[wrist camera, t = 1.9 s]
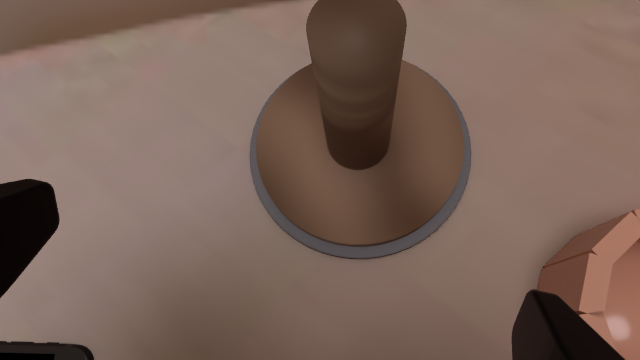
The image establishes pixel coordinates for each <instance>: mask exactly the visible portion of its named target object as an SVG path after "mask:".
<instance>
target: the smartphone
mask: <svg viewBox="0 0 640 360" xmlns="http://www.w3.org/2000/svg"><path fill="white" fill-rule="evenodd" d="M0 360H94V358H93V355H92V353H91V351H90V350H89V349H88V348H87V347H85V346H82V345H76V344H59V343H53V342H47V343H34V342H11V343H9V342H6V341H0Z"/></svg>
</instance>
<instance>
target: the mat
mask: <svg viewBox="0 0 640 360" xmlns="http://www.w3.org/2000/svg"><path fill="white" fill-rule="evenodd" d="M412 65H413V64H412ZM414 66H415V65H414ZM416 67H417V66H416ZM417 68H418V67H417ZM302 69H303V68H302ZM419 69H420V68H419ZM300 70H301V69H300ZM300 70H299V71H300ZM421 70H422V69H421ZM422 71H423V70H422ZM297 72H298V71H297ZM297 72H296V73H297ZM424 72H425V71H424ZM425 73H426V74H428V73H427V72H425ZM293 75H294V74H293ZM293 75H292V76H293ZM428 75H429V74H428ZM429 76H430V77H431V78H433V77H432V76H431V75H429ZM290 77H291V76H290ZM290 77H289V78H290ZM289 78H288V79H289ZM288 79H287V80H288ZM433 79H434V78H433ZM287 80H286V81H287ZM434 80H435V81H436V82H437V83H438V84H439V85H440V86H441V87H442V89H443V90H444V91H445V93H446V94H447V95H448V97H449V98H450V100H451V101H452V103H453V105H454V107H455V109H456V111H457V113H458V116H459V119H460V121H461V126H462V130H463V137H464V159H463V164H462V168H461V172H460V175H459V178H458V181H457V183H456V185H455V187H454V189H453V191H452V193H451V195H450V196H449V198H448V199H447V201H446V202H445V204H444V205H443V206H442V208H441V209H440V210H439V212H438V213H437V214H436V215H435V216H434V217H433V218H432V219H431V220H430V221H428V222H427V223H426V224H425V225H423V226H422V227H421V228H419V229H418V230H416V231H414V232H413V233H411V234H409V235H407V236H405V237H403V238H400V239H398V240H395V241H393V242H389V243H385V244H381V245H375V246H367V247H351V246H344V245H337V244H333V243H330V242H326V241H323V240H321V239H318V238H316V237H313V236H311V235H310V234H308V233H306V232H304V231H303V230H301V229H299V228H298V227H297V226H296V225H294V224H293V223H292V222H291V221H289V220H288V219H287V218H286V217H285V216H284V214H283V213H282V212H281V211H280V210H279V209H278V207H277V206H276V205H275V203H274V202H273V200H272V199H271V197H270V196H269V194H268V192H267V190H266V188H265V187H264V185H263V182H262V179H261V176H260V174H259V169H258V165H257V158H256V140H257V133H258V128H259V124H260V121H261V118H262V115H263V113H264V111H265V109H266V107H267V105H268V103H269V101H270V100H271V98H272V97H273V96H274V94H275V93H276V91H277V90H278V89H279V88H280V87H281V86H282V85H283V84H284V83H285V82H286V81H284V82H283V83H282V84H281V85H280V86H279V87H278V88H277V89H276V90H275V91H274V93H273V94H272V95H271V96H270V98H269V99H268V100H267V102H266V103H265V105H264V106H263V108H262V110H261V112H260V114H259V116H258V118H257V121H256V124H255V126H254V129H253V134H252V138H251V145H250V168H251V173H252V178H253V182H254V185H255V188H256V191H257V194H258V196H259V198H260V200H261V201H262V203H263V205H264V207H265V208H266V210H267V211H268V213H269V214H270V215H271V217H272V218H273V219H274V220H275V222H276V223H277V224H278V225H279V226H280V227H281V228H282V229H283V230H284V231H285V232H287V233H288V234H289V235H290V236H292V237H293V238H294V239H296V240H297V241H299V242H301V243H302V244H304V245H306V246H307V247H310V248H312V249H314V250H317V251H319V252H321V253H325V254H329V255H332V256H336V257H343V258H350V259H368V258H377V257H383V256H387V255H391V254H395V253H398V252H400V251H403V250H405V249H408V248H410V247H412V246H414V245H415V244H417V243H419V242H421V241H422V240H424V239H425V238H427V237H428V236H429V235H431V234H432V233H433V232H434V231H436V230H437V229H438V228H439V227H440V226H441V225H442V224H443V223H444V222H445V221H446V219H447V218H448V217H449V215H450V214H451V213H452V211H453V210H454V208H455V207H456V206H457V204H458V202H459V200H460V198H461V196H462V194H463V192H464V189H465V186H466V184H467V181H468V176H469V172H470V167H471V144H470V137H469V132H468V128H467V125H466V122H465V120H464V117H463V115H462V112H461V111H460V109H459V107H458V105H457V104H456V102H455V100H454V99H453V98H452V96H451V95H450V94H449V92H448V91H447V90H446V89H445V88H444V87H443V86H442V85H441V84H440V83H439V82H438V81H437V80H436V79H434Z"/></svg>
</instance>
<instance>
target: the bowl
mask: <svg viewBox="0 0 640 360" xmlns="http://www.w3.org/2000/svg"><path fill="white" fill-rule="evenodd" d="M543 267H544V268H543V269H542V270H541V275H540V279H539V284H538V289H537V290H539V291H544V292H549V293H553V294H556V295H558V296H559V297H560V298H561V299H562V300H563V301H564V302H566V303H567V304H568V305H569V306H570V307H571V308H572V309H573V310H574V311H575V312H576V313H577V314H578V315H579V316H580V317H581V318H582V319H583V320H584V321H585V322H587V323H588V324H589V325H590V326H591V327H592V328H593V329H594V330H595V331H596V332H597V333H598V334H599V335H600V336H601V337H602V338H603V339H604V340H605V341H606V342H608V343H609V344H610V345H611V346H612V347H613V348H614V349H615V350H616V351H617V352H618V353H619V354H620V355H621V356H622V357H623V358H624V359H625V360H640V209H637V210H633V211H631V212H628V213H626V214H624V215H622V216H619V217H617V218H615V219H613V220H610V221H608V222H606V223H604V224H601V225H599V226H597V227H595V228H592V229H590V230H588V231H586V232H583V233H581V234H579V235H577V236H575V237H574V238H573V239H572V240H571V241H570V242H568V243H567V244H566V245H565V246H564V247H563V248H562V249H561V250H560V251H559V252H558V253H557V254H556V255H555V256H554V257H553V258H552V259H551V260H549V261H548V262H547V263H546V264H545V265H544V266H543Z"/></svg>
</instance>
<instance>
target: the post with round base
mask: <svg viewBox="0 0 640 360" xmlns="http://www.w3.org/2000/svg"><path fill="white" fill-rule="evenodd" d="M406 26H407V25H406V17H405V13H404V11H403V9H402V7H401V5H400V4H399V3H398V1H397V0H318V2H317V3H316V4H315V5H314V6H313V8H312V10H311V11H310V13H309V16H308V19H307V24H306V32H307V39H308V44H309V49H310V55H311V60H312V64H310V65H308V66H306V67H304V68H303V69H301V70H300V71H298V72H297V73H295V74H294V75H293V76H291V77H290V78H289V79H288V80H287V81H286V82H285V83H284V84H283V85H282V86H281V87H280V88H279V89H278V90H277V91H276V93H275V94H274V96H273V97H272V98H271V100H270V101H269V103H268V105H267V107H266V109H265V111H264V113H263V115H262V118H261V121H260V124H259V128H258V133H257V140H256V158H257V165H258V169H259V174H260V176H261V179H262V182H263V185H264V187H265V188H266V190H267V192H268V194H269V196H270V197H271V199H272V200H273V202H274V203H275V205H276V206H277V207H278V209H279V210H280V211H281V212H282V213H283V214H284V216H285V217H286V218H287V219H288V220H289V221H291V222H292V223H293V224H294V225H296V226H297V227H298V228H299V229H301V230H303V231H304V232H306V233H308V234H310V235H311V236H313V237H316V238H318V239H321V240H323V241H326V242H330V243H333V244H337V245H344V246H351V247H367V246H375V245H381V244H385V243H389V242H393V241H395V240H398V239H400V238H403V237H405V236H407V235H409V234H411V233H413V232H414V231H416V230H418V229H419V228H421V227H422V226H423V225H425V224H426V223H427V222H428V221H430V220H431V219H432V218H433V217H434V216H435V215H436V214H437V213H438V212H439V210H440V209H441V208H442V206H443V205H444V204H445V202H446V201H447V199H448V198H449V196H450V195H451V193H452V191H453V189H454V187H455V185H456V183H457V181H458V178H459V175H460V172H461V168H462V164H463V159H464V137H463V130H462V126H461V121H460V119H459V116H458V113H457V111H456V109H455V107H454V105H453V103H452V101H451V100H450V98H449V97H448V95H447V94H446V93H445V91H444V90H443V89H442V87H441V86H440V85H439V84H438V83H437V82H436V81H435V80H434V79H433V78H431V77H430V76H429V75H428V74H426V73H425V72H424V71H422V70H421V69H419V68H417V67H416V66H414V65H412V64H410V63H408V62H406V61H404V60H402V54H403V48H404V41H405V34H406Z"/></svg>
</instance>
